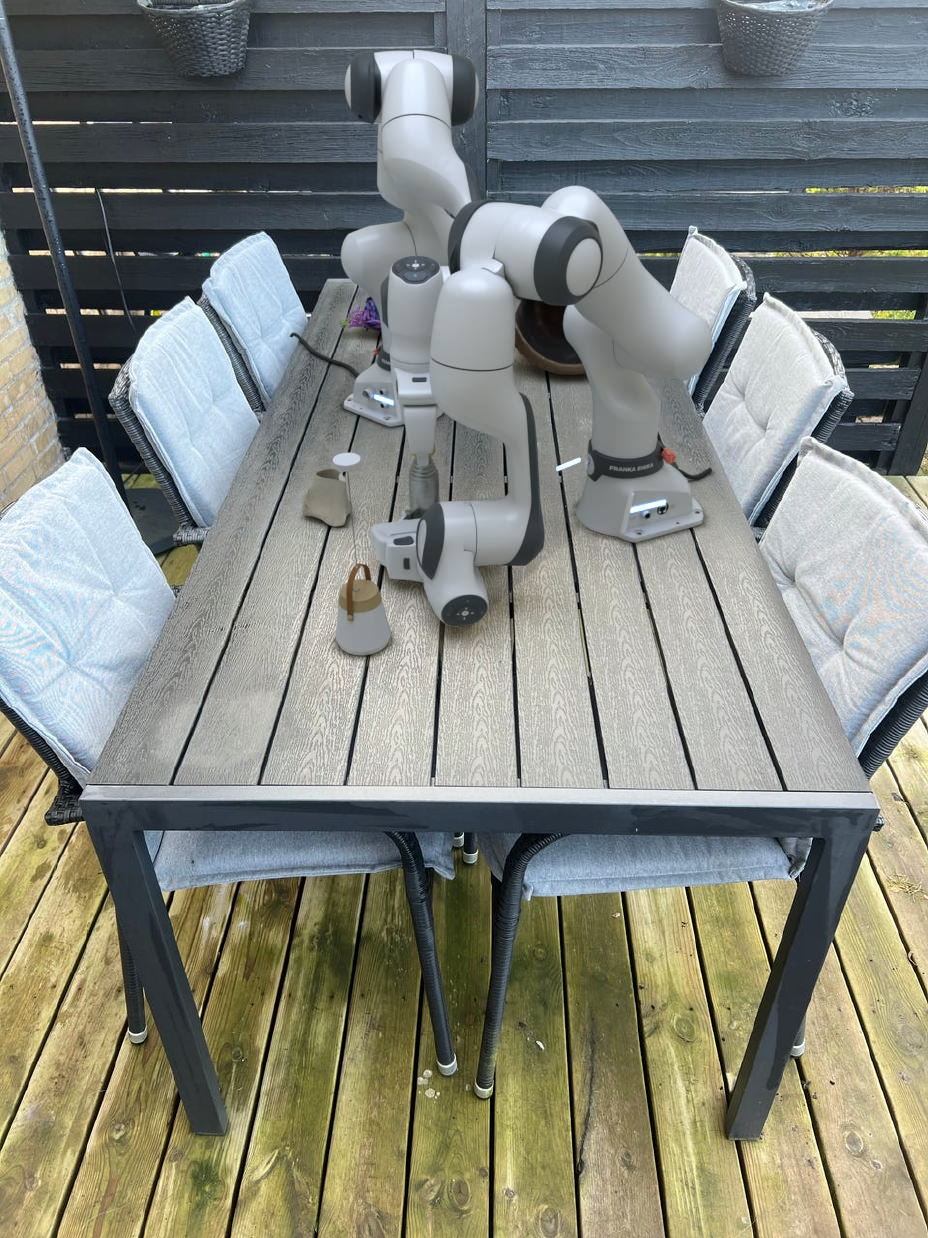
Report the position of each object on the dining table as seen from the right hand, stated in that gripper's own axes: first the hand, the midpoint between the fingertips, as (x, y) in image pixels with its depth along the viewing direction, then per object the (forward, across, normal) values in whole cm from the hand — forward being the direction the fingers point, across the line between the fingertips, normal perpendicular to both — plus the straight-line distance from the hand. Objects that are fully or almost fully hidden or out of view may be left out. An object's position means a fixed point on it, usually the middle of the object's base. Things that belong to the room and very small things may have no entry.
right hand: (423, 511), depth 158 cm
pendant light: (-25, +15, +6) cm, 30 cm away
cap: (-1, 0, -14) cm, 14 cm away
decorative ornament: (+98, -14, +6) cm, 99 cm away
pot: (+72, -51, +6) cm, 88 cm away
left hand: (-1, 0, -11) cm, 11 cm away
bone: (+11, +16, +6) cm, 20 cm away
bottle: (-1, 0, +6) cm, 6 cm away
